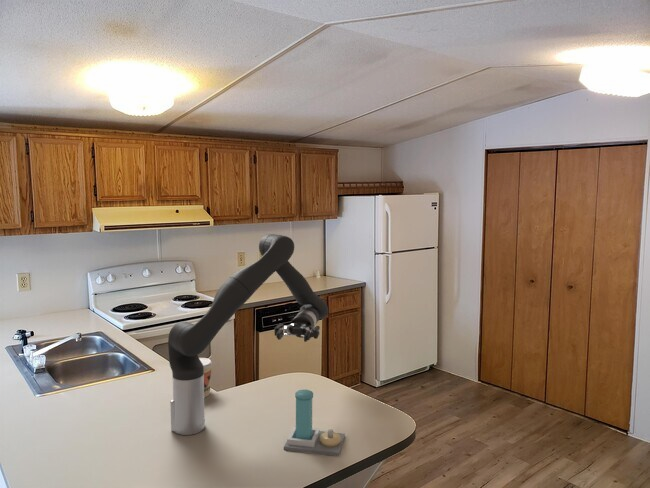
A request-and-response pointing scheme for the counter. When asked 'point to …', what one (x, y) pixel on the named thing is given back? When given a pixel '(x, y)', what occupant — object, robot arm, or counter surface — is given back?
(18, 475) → the counter surface
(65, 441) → the counter surface
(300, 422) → the lidded tumbler
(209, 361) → the coffee cup
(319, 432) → the housing
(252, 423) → the counter surface
